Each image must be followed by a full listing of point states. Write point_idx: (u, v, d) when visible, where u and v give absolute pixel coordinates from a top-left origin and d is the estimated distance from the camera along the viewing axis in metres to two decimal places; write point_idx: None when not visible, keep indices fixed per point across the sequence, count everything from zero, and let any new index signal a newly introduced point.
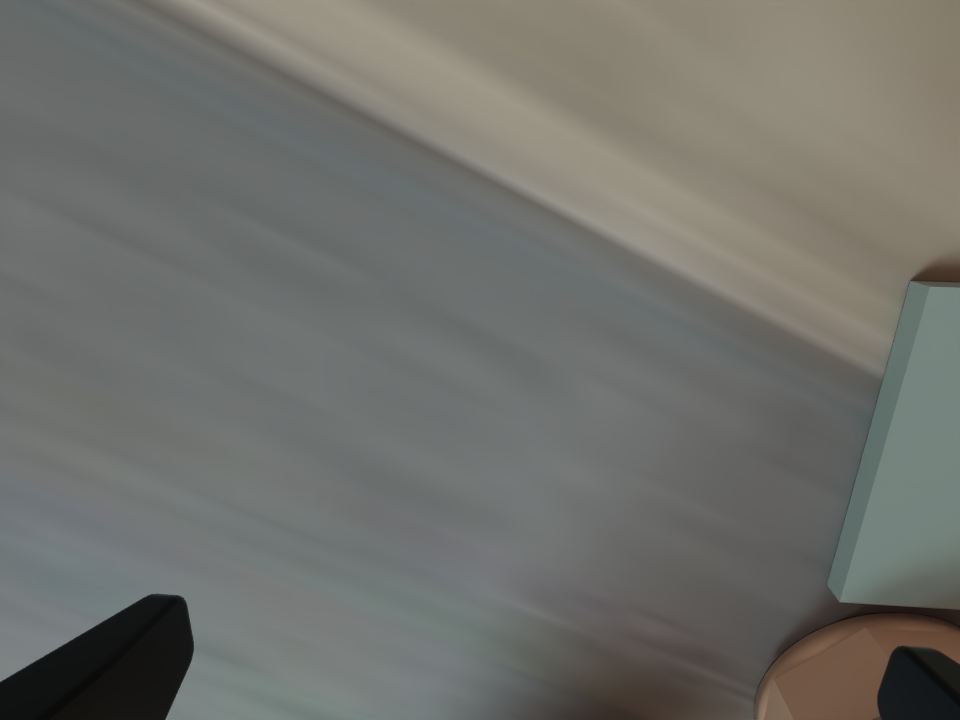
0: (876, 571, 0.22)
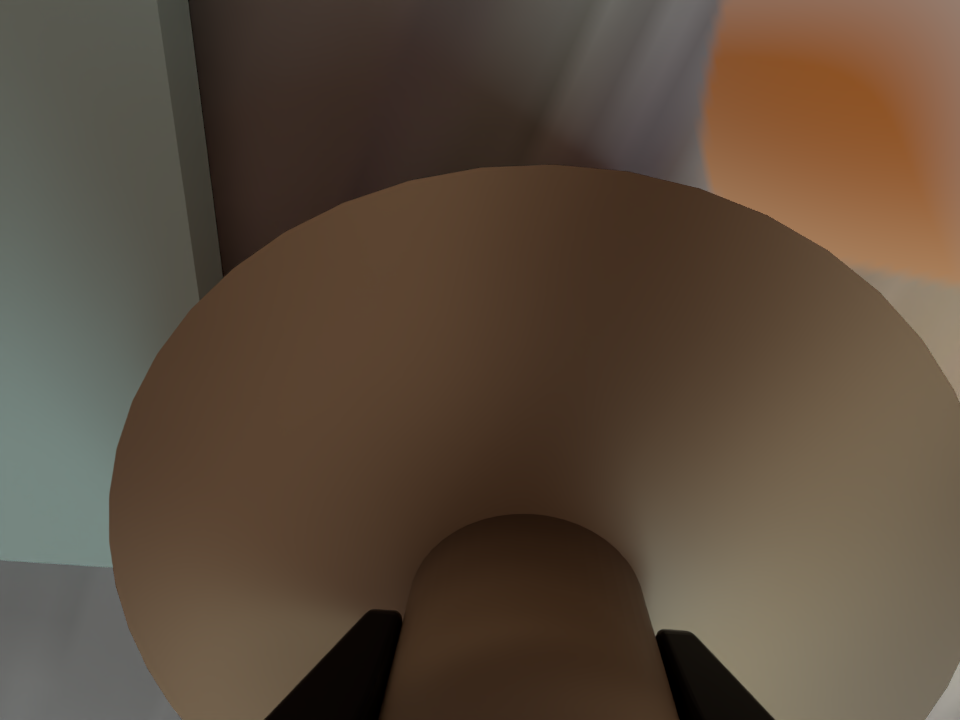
0: None
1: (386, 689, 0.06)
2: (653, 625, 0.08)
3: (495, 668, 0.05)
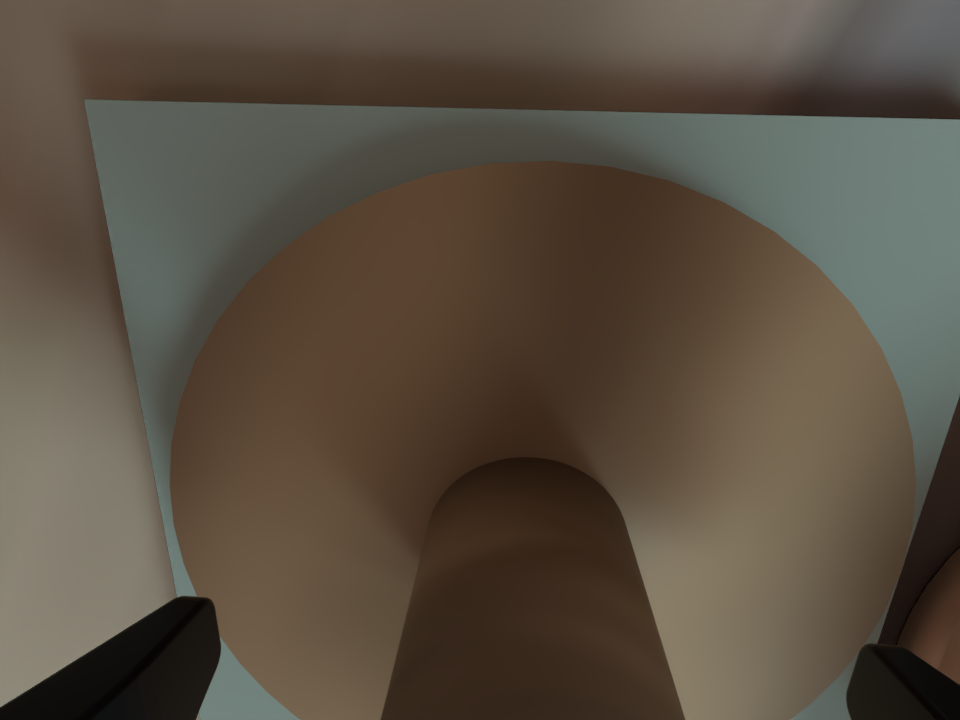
0: None
1: (413, 591, 0.07)
2: (635, 555, 0.09)
3: (504, 560, 0.06)
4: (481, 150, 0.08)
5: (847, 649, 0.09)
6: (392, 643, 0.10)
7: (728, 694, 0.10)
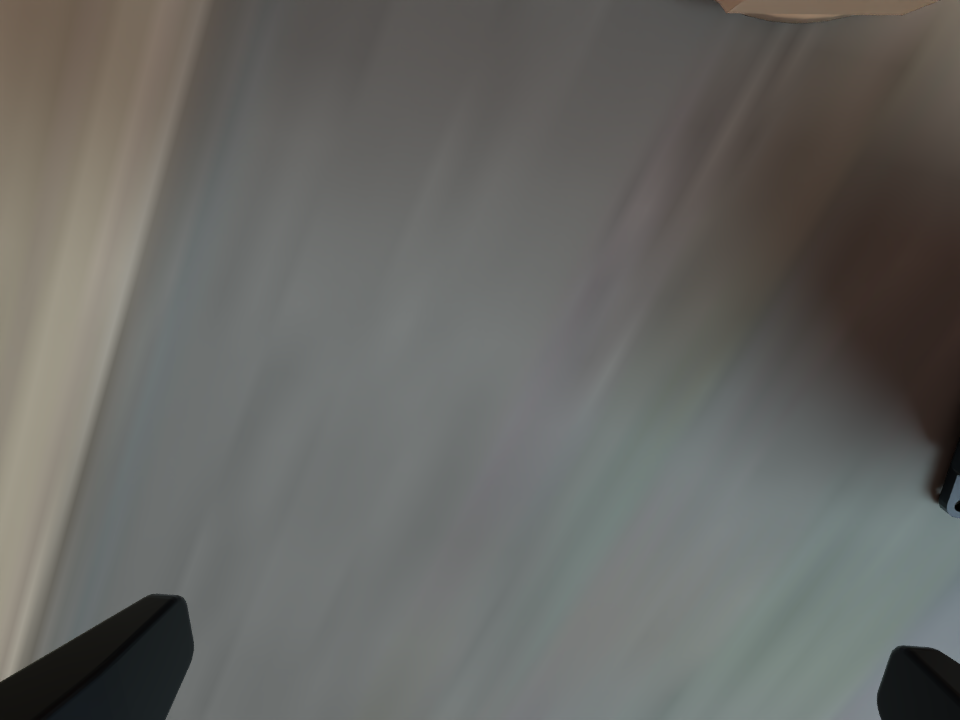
0: None
1: None
2: None
3: None
4: None
5: None
6: None
7: None
